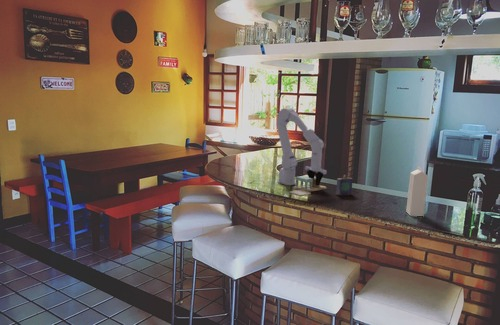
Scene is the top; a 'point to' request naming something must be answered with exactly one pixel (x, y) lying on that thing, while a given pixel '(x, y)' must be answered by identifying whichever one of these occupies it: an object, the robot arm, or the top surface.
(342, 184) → the flask
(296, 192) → the pad
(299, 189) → the board
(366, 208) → the top surface
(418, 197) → the milk
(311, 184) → the cover
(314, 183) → the block
